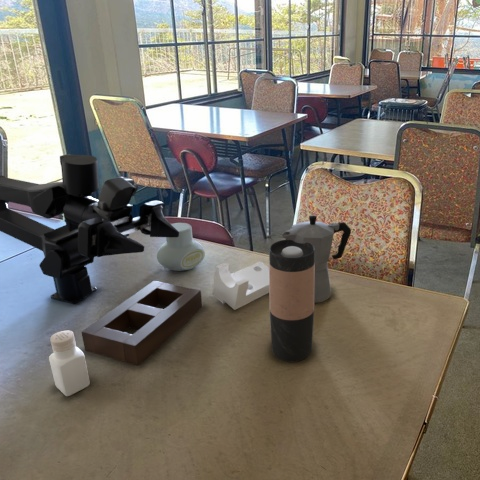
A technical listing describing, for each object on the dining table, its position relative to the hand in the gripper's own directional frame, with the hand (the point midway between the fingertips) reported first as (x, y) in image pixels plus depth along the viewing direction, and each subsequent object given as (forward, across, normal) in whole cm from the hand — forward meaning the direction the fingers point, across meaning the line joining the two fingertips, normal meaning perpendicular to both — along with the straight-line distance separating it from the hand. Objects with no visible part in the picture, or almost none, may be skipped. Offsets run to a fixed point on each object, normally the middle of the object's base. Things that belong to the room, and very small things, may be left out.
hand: (161, 241), depth 85 cm
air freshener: (-11, +23, +18) cm, 31 cm away
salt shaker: (0, -19, +20) cm, 27 cm away
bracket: (+10, +18, +15) cm, 25 cm away
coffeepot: (+22, +25, +12) cm, 35 cm away
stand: (-1, -1, +18) cm, 18 cm away
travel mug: (+27, +4, +14) cm, 30 cm away
